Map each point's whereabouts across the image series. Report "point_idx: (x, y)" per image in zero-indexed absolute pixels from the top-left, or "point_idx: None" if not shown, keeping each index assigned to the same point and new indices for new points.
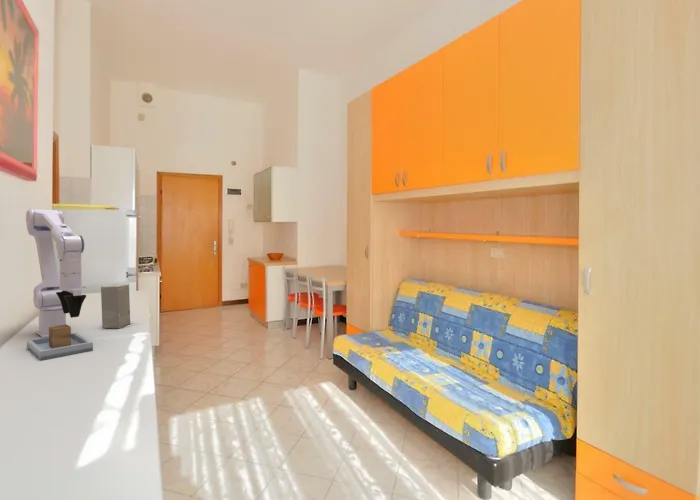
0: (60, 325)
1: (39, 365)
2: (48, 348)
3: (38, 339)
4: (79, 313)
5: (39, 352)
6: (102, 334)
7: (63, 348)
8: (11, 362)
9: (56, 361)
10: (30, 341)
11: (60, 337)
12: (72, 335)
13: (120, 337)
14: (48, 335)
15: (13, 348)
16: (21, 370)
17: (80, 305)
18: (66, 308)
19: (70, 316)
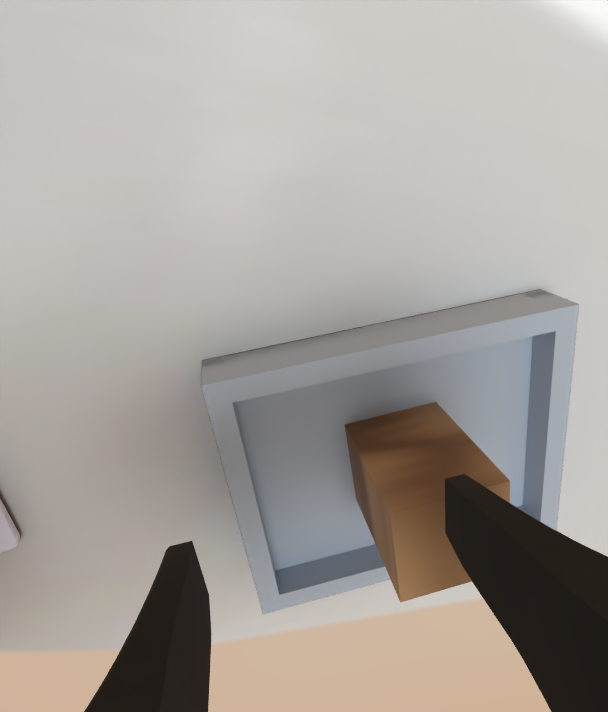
0: (406, 543)
1: (594, 498)
2: None
3: (272, 569)
4: (487, 490)
5: None
6: (97, 159)
7: (560, 447)
8: (469, 586)
9: (592, 447)
10: (304, 595)
11: None
12: (233, 403)
13: (310, 32)
14: (4, 520)
15: (218, 620)
16: (605, 543)
17: (593, 560)
18: (199, 633)
19: (454, 540)
